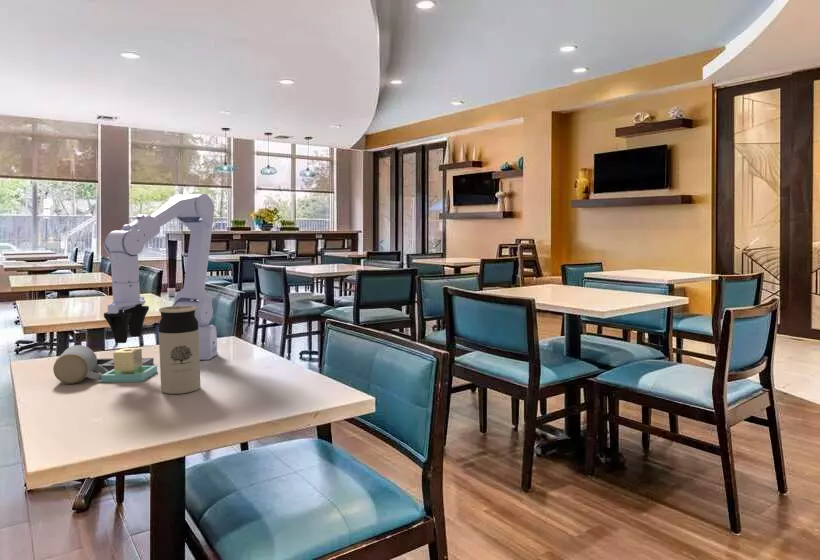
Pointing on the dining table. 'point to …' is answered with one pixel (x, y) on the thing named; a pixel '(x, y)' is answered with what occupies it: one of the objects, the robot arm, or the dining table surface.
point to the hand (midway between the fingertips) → (128, 339)
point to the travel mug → (179, 350)
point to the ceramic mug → (77, 365)
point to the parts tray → (129, 375)
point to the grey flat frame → (109, 362)
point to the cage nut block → (128, 361)
